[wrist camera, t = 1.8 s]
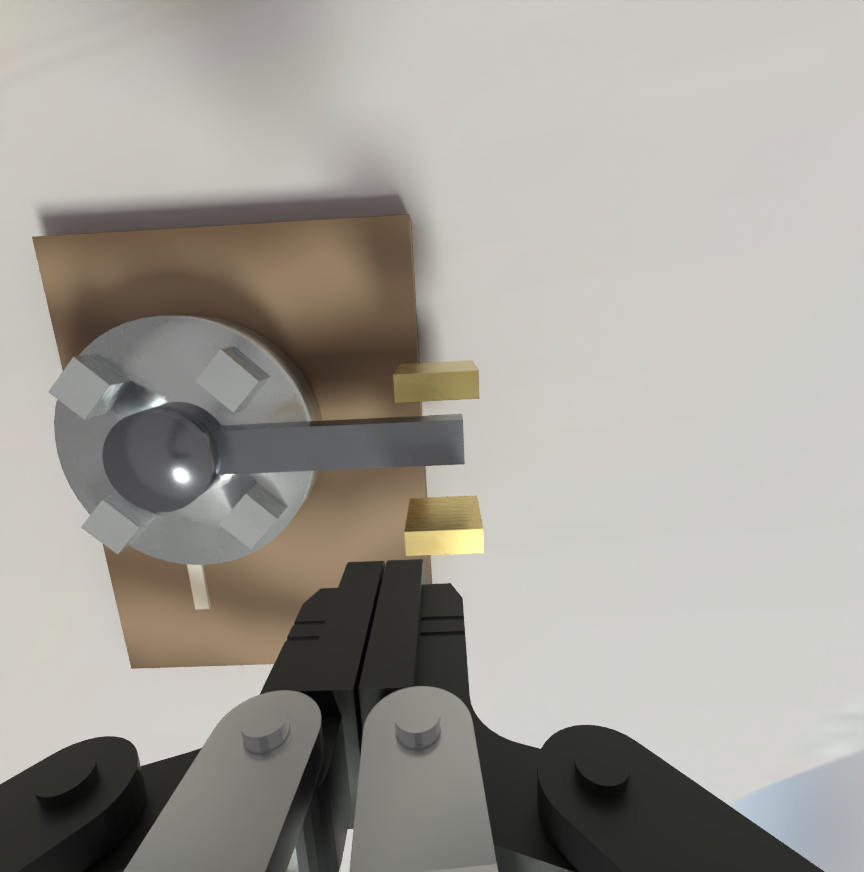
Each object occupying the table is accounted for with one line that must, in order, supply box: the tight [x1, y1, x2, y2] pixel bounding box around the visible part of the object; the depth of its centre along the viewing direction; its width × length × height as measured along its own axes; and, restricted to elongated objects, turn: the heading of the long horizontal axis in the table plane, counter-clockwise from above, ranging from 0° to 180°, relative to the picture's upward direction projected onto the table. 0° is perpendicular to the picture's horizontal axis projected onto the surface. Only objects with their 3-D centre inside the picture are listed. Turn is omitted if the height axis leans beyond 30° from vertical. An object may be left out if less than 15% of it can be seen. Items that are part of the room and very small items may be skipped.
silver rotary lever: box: [49, 315, 484, 565], centre depth 22 cm, size 12×20×7 cm, turn 93°
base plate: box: [32, 214, 432, 669], centre depth 27 cm, size 24×18×2 cm
